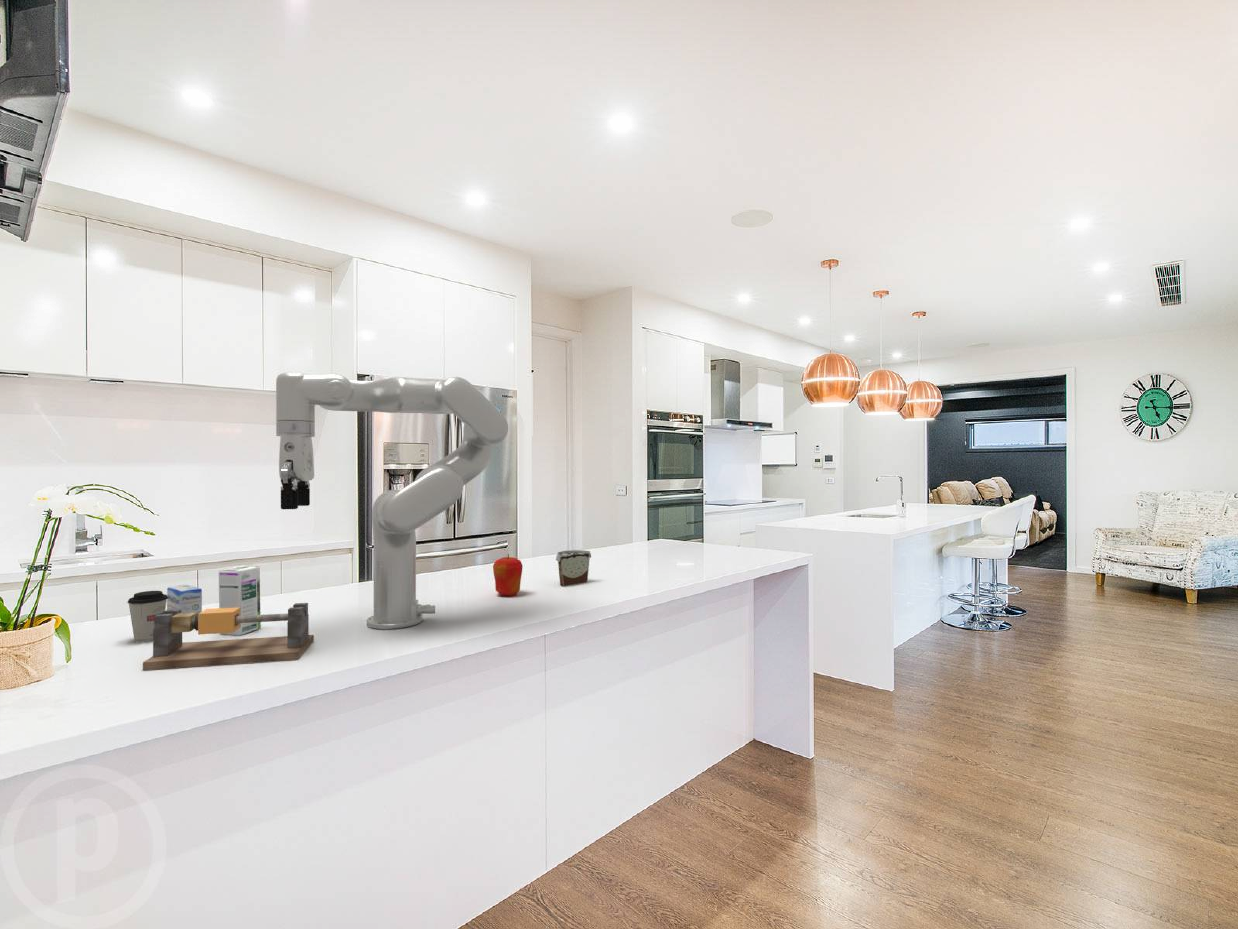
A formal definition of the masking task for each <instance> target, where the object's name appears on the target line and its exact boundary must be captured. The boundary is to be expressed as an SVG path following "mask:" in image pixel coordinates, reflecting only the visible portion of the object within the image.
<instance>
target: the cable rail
mask: <svg viewBox="0 0 1238 929" xmlns="http://www.w3.org/2000/svg"><path fill="white" fill-rule="evenodd" d="M198 614H199V613H181V609H172V610H167V609H165V611H164V612H163V614H158V615H156V616H154V629H153V641H152V656H151V657H149V658H148V659H146V660H144V661H143V662H142V671H154V670H155V671H156V670H168V669H172V670H173V669H184V668H185V669H186V668H197V667H200V668H202V667H210V666H211V667H212V666H213V667H215V666H225V665H226V666H227V665H242V664H244V665H245V664H257V663H273V662H285V661H298V660H300V658H301V657H302V656H303V655H304V654H305V653H306V651H308V649H309V648H310V647H311V645H312V644H313V643H314V642H315V634H310V631H309V628H310V626H309V625H310V624H309V623H310V622H309V616H310V615H309V602H299V603H297V602H296V603H294V604H293V605H292V606H291V607H289V608H288V609H287V613H271V614H269V613H268V614H260V615H249V616H235V623H252V622H261V623H265V622H267V623H268V622H269V623H270V622H283V621H286V622H287V623H286V626H287V627H286V628H287V633H286V634H287V635H286V636H272V637H271V636H269V637H268V636H267V637H254V638H252V637H251V638H238V639H220V640H219V639H218V640H205V641H204V640H203V641H200V640H199V641H187V642H183V633H190V632H192V631H194V630H195V631H196V632H198Z"/></svg>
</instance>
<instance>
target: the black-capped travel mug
mask: <svg viewBox="0 0 1238 929" xmlns="http://www.w3.org/2000/svg"><path fill="white" fill-rule="evenodd" d="M167 599H168V597H167V594H165V593H163V591H162V590H148V591H147V590H145V591H139V592H135V593H134V594H133V596H132V597H130V598H128V600H127V604H128V608H129V612H130V613H129V614H130V621H131V628H132V632H133V640H134V643H149V642H153V629H154V616H156V615H158V614H163V612H164V611H166V609H167Z"/></svg>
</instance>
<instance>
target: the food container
mask: <svg viewBox="0 0 1238 929" xmlns="http://www.w3.org/2000/svg"><path fill="white" fill-rule="evenodd" d="M590 558H592V553H591V551H590V550H583V549H581V550H579V549H574V550H562V551H558V552H557V554H556V558H555V561H557V564H558V575H559V576H558V577H559V585H560V587H563V588H565V587H571V586H576V585H582V584H583V585H584V584H588V583H589V582H588V581H589V570H590V568H589V567H590Z"/></svg>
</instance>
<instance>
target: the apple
mask: <svg viewBox="0 0 1238 929" xmlns="http://www.w3.org/2000/svg"><path fill="white" fill-rule="evenodd" d="M492 570H493V576H494V583H495V591H496V592H497V593H498V594H499V595H500V596H505V597H506V596H507V597H509V596H517V594H518V593H519V592H520V590H521V582H522V581H521V580H522V575H523V563H522V561H521V560H520V559H518V558H516V557H512V556H510V555H509V554H507V556H504V557H501V558H498V559H497V560H495V561H494V563H493V565H492Z"/></svg>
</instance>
